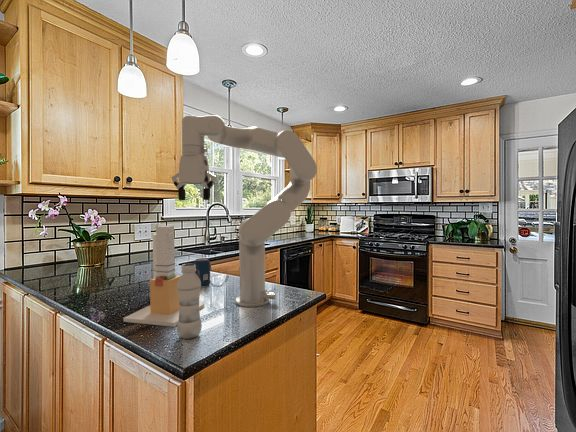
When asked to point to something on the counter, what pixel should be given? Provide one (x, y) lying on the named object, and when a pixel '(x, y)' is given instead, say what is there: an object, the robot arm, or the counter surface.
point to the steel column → (165, 252)
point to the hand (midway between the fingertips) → (194, 200)
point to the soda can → (203, 271)
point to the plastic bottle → (189, 303)
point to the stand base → (160, 304)
